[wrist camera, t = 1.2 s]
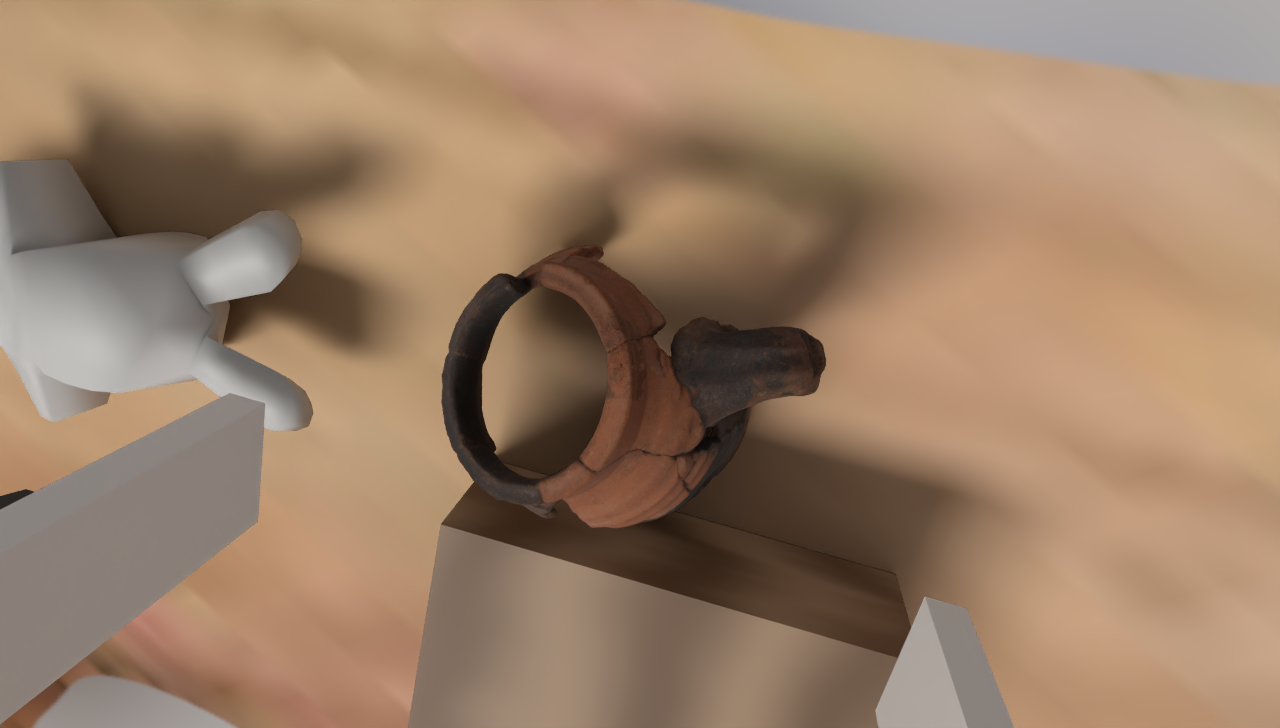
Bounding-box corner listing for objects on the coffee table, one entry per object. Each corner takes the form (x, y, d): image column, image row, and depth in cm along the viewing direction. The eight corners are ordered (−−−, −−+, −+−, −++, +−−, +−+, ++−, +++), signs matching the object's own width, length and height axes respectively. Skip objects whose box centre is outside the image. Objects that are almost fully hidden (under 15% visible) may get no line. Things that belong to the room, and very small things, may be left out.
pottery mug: (596, 530, 30) (444, 566, 23) (553, 308, 32) (399, 280, 25) (891, 469, 24) (806, 493, 17) (819, 201, 26) (714, 125, 19)
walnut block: (455, 659, 33) (404, 750, 28) (491, 459, 29) (440, 524, 25) (814, 769, 32) (824, 882, 27) (895, 574, 28) (922, 665, 24)
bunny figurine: (-149, 149, 25) (228, 197, 22) (10, 146, 30) (340, 184, 26) (-84, 412, 28) (256, 490, 25) (51, 371, 33) (352, 432, 29)
